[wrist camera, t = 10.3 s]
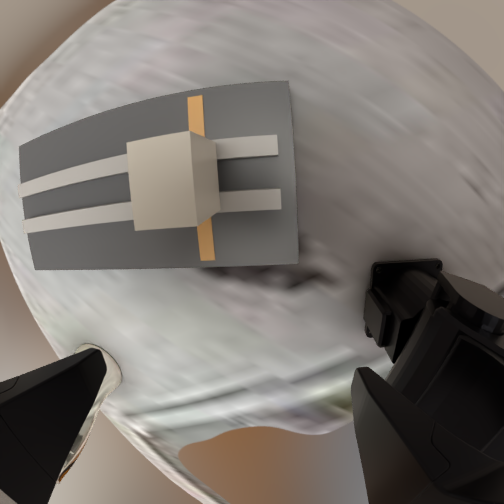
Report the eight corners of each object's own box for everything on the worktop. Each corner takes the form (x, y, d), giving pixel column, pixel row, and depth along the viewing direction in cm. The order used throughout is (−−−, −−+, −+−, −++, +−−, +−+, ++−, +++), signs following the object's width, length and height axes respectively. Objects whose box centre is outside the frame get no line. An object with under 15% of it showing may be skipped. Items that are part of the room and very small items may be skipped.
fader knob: (219, 143, 16) (189, 130, 10) (224, 207, 17) (197, 226, 12) (173, 149, 17) (126, 142, 11) (178, 211, 18) (135, 230, 12)
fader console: (287, 89, 17) (289, 74, 14) (296, 255, 20) (300, 270, 17) (32, 146, 19) (10, 146, 16) (47, 263, 23) (27, 274, 20)
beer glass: (103, 393, 27) (44, 481, 13) (65, 349, 26) (-9, 429, 11) (137, 382, 26) (74, 490, 11) (95, 331, 24) (5, 428, 10)
